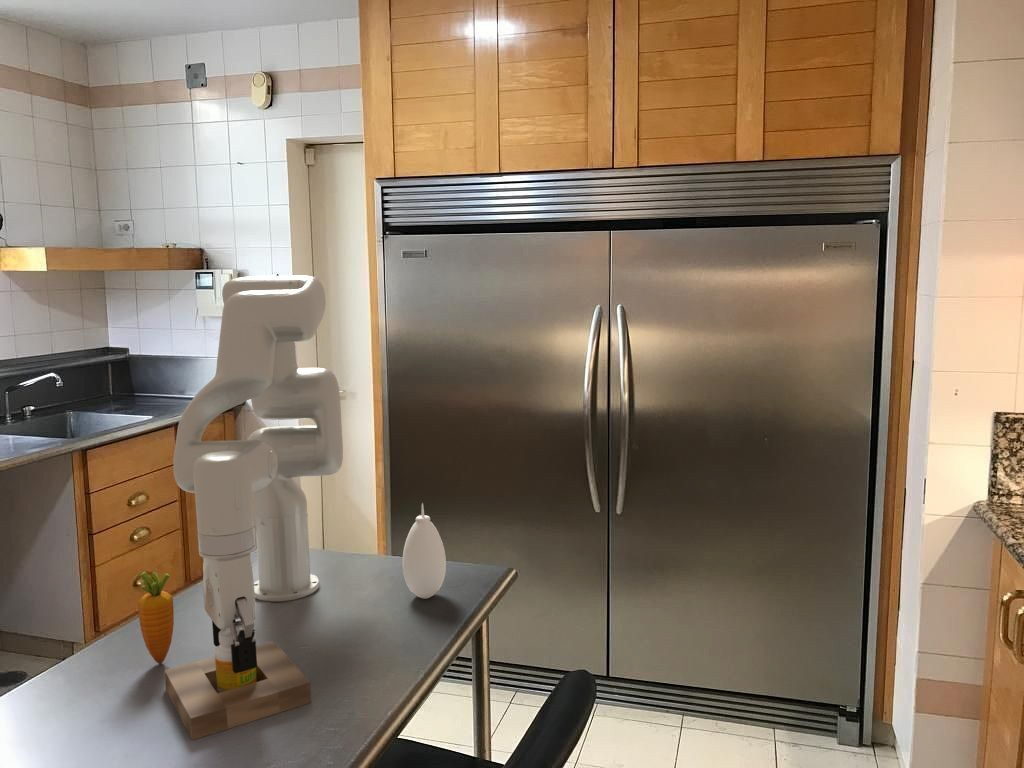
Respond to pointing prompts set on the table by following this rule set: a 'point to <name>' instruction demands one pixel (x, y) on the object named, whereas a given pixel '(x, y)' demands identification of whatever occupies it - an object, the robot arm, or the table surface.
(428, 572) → the white air blower bulb
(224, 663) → the supplement bottle
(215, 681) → the bore block
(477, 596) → the table surface
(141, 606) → the carrot
